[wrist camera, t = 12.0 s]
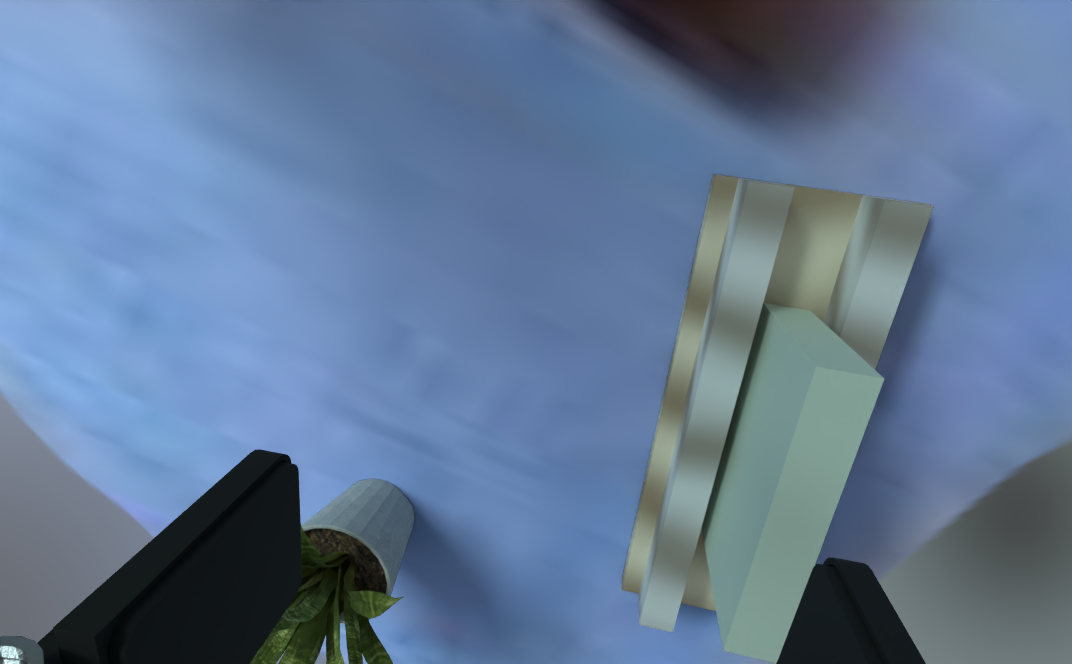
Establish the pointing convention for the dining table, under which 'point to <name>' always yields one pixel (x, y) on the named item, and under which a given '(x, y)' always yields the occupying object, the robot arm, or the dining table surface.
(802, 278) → the door track
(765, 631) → the door panel
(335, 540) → the house plant
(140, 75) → the dining table surface
